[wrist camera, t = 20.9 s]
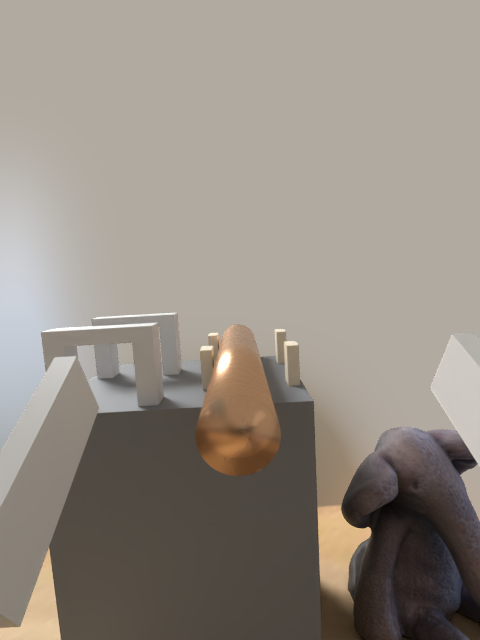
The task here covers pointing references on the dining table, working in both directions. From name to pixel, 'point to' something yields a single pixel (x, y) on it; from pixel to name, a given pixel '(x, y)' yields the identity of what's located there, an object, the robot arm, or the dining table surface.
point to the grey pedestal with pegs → (183, 502)
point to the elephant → (414, 537)
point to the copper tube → (238, 409)
